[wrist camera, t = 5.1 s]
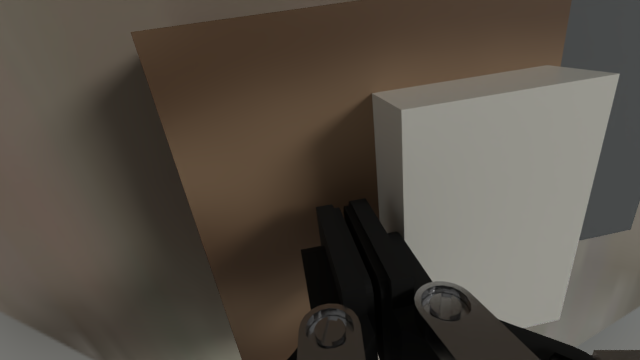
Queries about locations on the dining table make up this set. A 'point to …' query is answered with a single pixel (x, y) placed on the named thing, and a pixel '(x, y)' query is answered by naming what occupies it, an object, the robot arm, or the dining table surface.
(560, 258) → the tile
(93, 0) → the dining table surface
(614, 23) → the mat
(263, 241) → the panel
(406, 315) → the robot arm
